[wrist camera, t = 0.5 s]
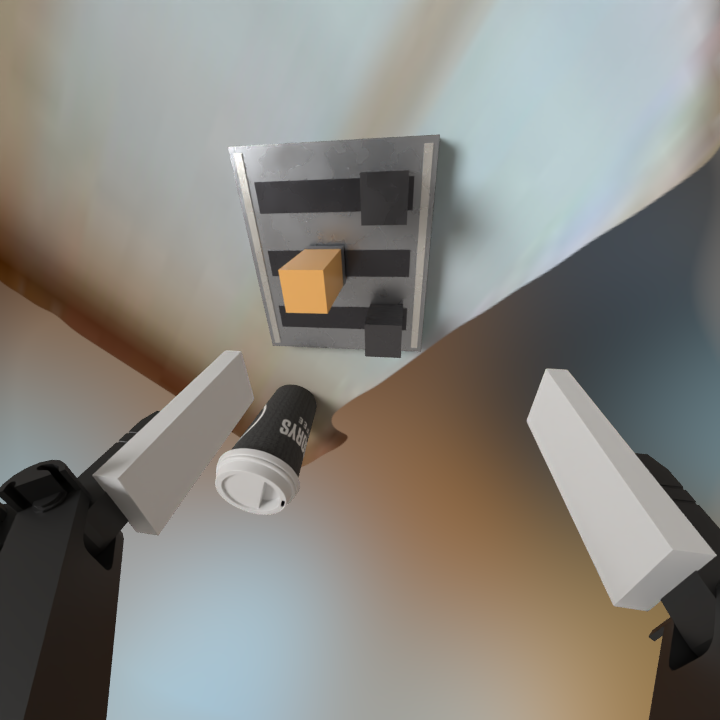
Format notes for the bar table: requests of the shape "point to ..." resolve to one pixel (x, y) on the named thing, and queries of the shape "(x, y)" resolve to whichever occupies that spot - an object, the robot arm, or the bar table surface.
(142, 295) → the bar table surface
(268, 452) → the coffee cup
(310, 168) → the panel
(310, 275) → the breaker handle
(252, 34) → the bar table surface
